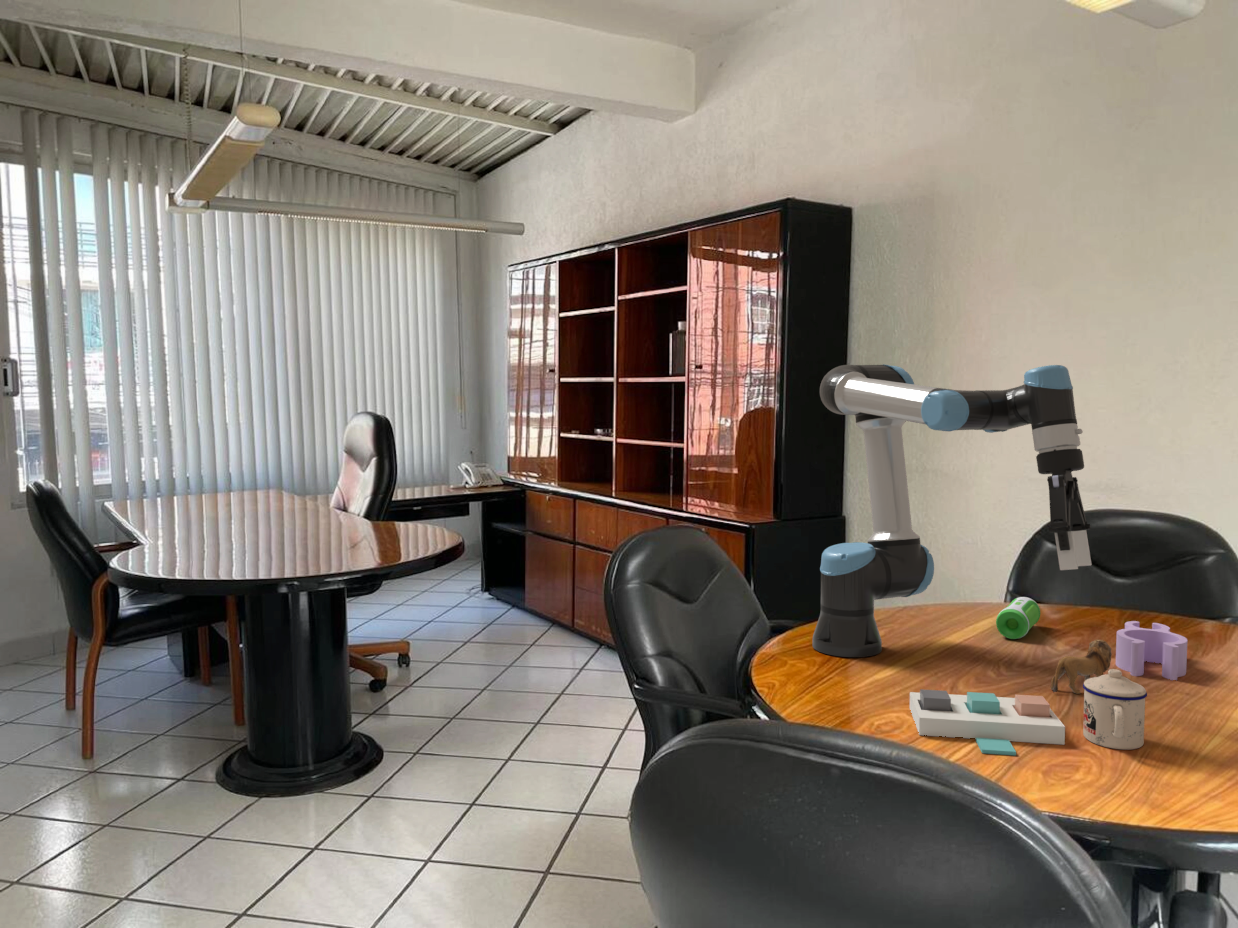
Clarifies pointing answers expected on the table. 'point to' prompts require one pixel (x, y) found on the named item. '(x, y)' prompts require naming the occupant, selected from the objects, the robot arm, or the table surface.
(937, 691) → the charcoal button
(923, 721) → the button board
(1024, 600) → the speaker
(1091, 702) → the teacup with lid
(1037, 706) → the terracotta button
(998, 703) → the teal button
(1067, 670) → the lion figurine
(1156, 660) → the clip
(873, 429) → the robot arm
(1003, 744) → the tile
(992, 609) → the table surface
